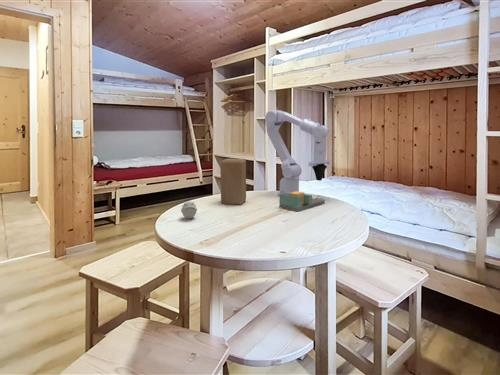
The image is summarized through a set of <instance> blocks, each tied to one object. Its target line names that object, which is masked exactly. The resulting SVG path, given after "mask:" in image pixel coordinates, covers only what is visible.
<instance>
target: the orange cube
mask: <svg viewBox="0 0 500 375" xmlns="http://www.w3.org/2000/svg"><path fill="white" fill-rule="evenodd" d="M289 194H292V195H297V196H302V204H304V194H305V192H303V191H299V192H298V191H295V192H291V193H289Z"/></svg>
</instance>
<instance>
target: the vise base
mask: <svg viewBox="0 0 500 375" xmlns="http://www.w3.org/2000/svg"><path fill="white" fill-rule="evenodd" d="M279 194H280V193H279ZM278 201H279V206H278V207H279V208H281V209H285V210H289V211H293V212H301V211H302V212H303V211H305V210H309V209H311V208H315V207H318V206H321V205H325V203H326V200H324V199H320V198H317V199H314V200H312V204H310V205H308V204H302V196H297V195H292V194H287V193H282V194H280V195H279V200H278Z"/></svg>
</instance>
